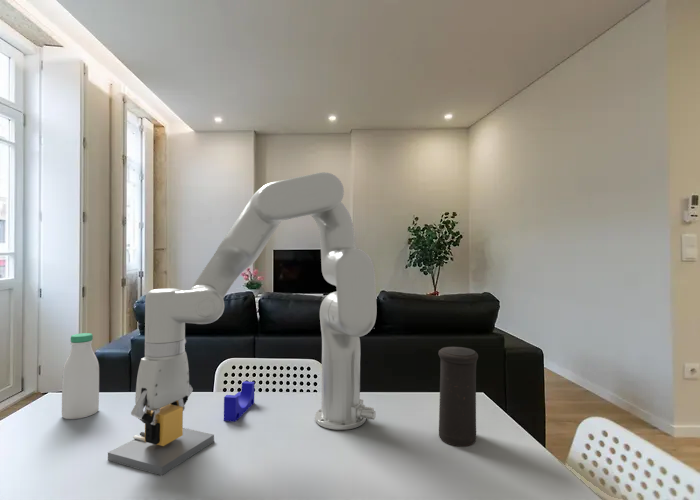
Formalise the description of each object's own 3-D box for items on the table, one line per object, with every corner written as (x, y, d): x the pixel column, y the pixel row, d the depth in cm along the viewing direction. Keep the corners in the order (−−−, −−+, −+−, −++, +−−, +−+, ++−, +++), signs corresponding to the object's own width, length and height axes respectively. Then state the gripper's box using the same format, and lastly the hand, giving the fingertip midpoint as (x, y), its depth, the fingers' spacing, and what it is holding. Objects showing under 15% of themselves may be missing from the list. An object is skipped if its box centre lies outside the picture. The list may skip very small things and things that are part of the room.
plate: (214, 441, 85) (214, 413, 85) (161, 475, 72) (162, 442, 72) (163, 430, 90) (163, 404, 90) (106, 459, 77) (106, 429, 77)
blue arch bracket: (238, 402, 108) (238, 380, 108) (254, 403, 107) (254, 381, 107) (217, 421, 96) (218, 396, 96) (235, 422, 95) (235, 397, 95)
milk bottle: (104, 412, 100) (105, 333, 100) (70, 422, 93) (71, 339, 94) (89, 405, 104) (91, 330, 104) (55, 415, 98) (57, 335, 98)
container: (480, 433, 90) (480, 346, 90) (474, 451, 82) (475, 355, 82) (442, 426, 93) (442, 342, 94) (433, 442, 85) (434, 350, 86)
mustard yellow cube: (182, 435, 82) (182, 406, 82) (163, 446, 78) (163, 415, 78) (164, 431, 84) (164, 403, 84) (144, 441, 79) (145, 412, 79)
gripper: (182, 338, 90) (181, 417, 90) (114, 356, 74) (112, 452, 74) (208, 341, 88) (207, 422, 87) (143, 360, 72) (142, 460, 72)
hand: (164, 435), depth 81 cm, fingers closed on mustard yellow cube, 5 cm apart
